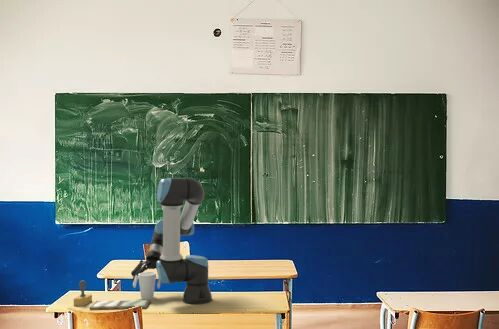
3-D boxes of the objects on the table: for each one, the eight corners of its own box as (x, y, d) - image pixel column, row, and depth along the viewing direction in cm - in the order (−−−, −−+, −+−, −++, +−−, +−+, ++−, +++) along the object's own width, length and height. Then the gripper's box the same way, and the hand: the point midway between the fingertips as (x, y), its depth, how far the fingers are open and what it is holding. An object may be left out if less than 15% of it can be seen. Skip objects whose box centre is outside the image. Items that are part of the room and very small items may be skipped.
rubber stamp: (81, 300, 292) (81, 278, 292) (92, 301, 291) (91, 278, 291) (73, 305, 282) (73, 282, 282) (84, 306, 282) (83, 282, 282)
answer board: (150, 302, 287) (150, 299, 287) (146, 308, 274) (146, 306, 274) (96, 302, 287) (96, 300, 287) (89, 309, 274) (89, 307, 274)
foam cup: (152, 300, 290) (151, 275, 290) (135, 299, 292) (135, 275, 292) (158, 296, 300) (158, 272, 300) (142, 295, 302) (142, 271, 301)
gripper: (177, 258, 310) (170, 291, 295) (135, 257, 314) (125, 290, 299) (174, 250, 305) (166, 283, 290) (131, 249, 309) (121, 282, 294)
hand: (145, 287), depth 295 cm, fingers open, 13 cm apart
